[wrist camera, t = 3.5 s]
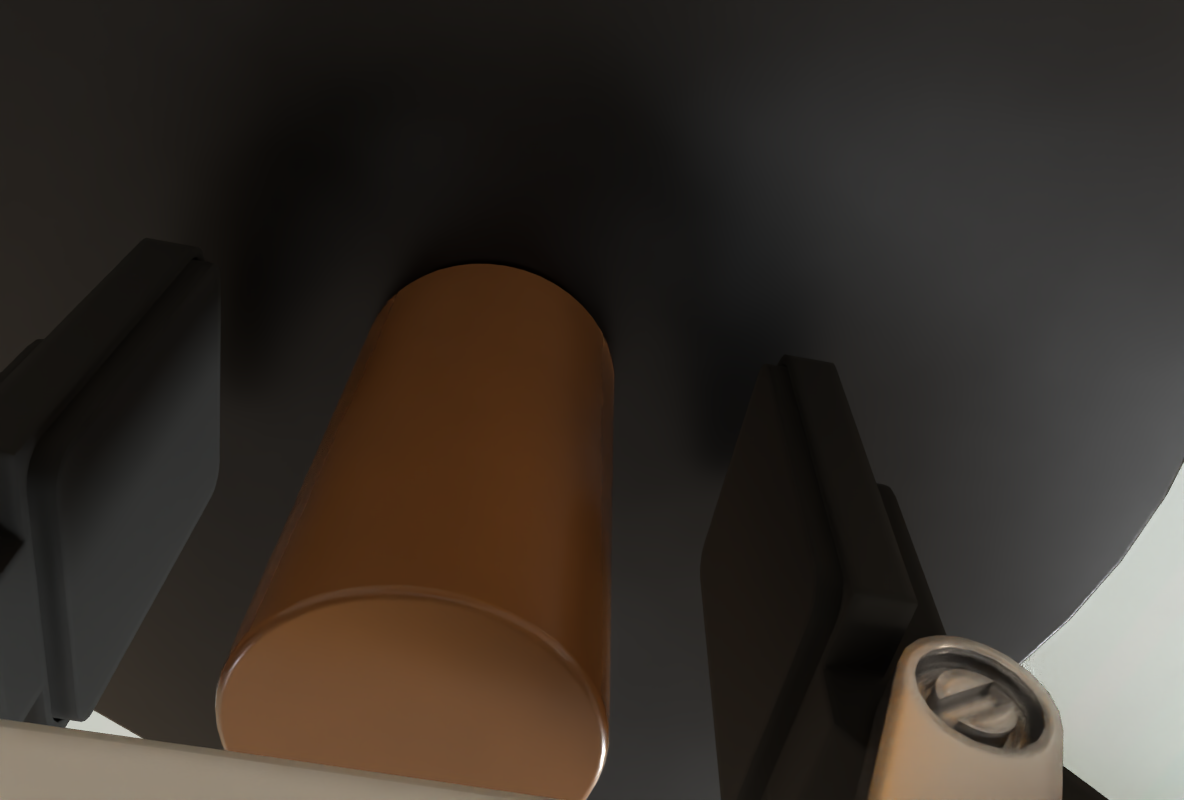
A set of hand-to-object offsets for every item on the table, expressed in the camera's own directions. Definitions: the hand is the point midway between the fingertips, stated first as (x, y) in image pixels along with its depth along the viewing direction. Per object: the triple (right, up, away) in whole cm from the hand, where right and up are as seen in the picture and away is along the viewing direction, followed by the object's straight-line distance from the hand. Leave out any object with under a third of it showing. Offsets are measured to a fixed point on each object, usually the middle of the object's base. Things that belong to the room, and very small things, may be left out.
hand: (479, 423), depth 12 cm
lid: (0, +1, +1) cm, 2 cm away
